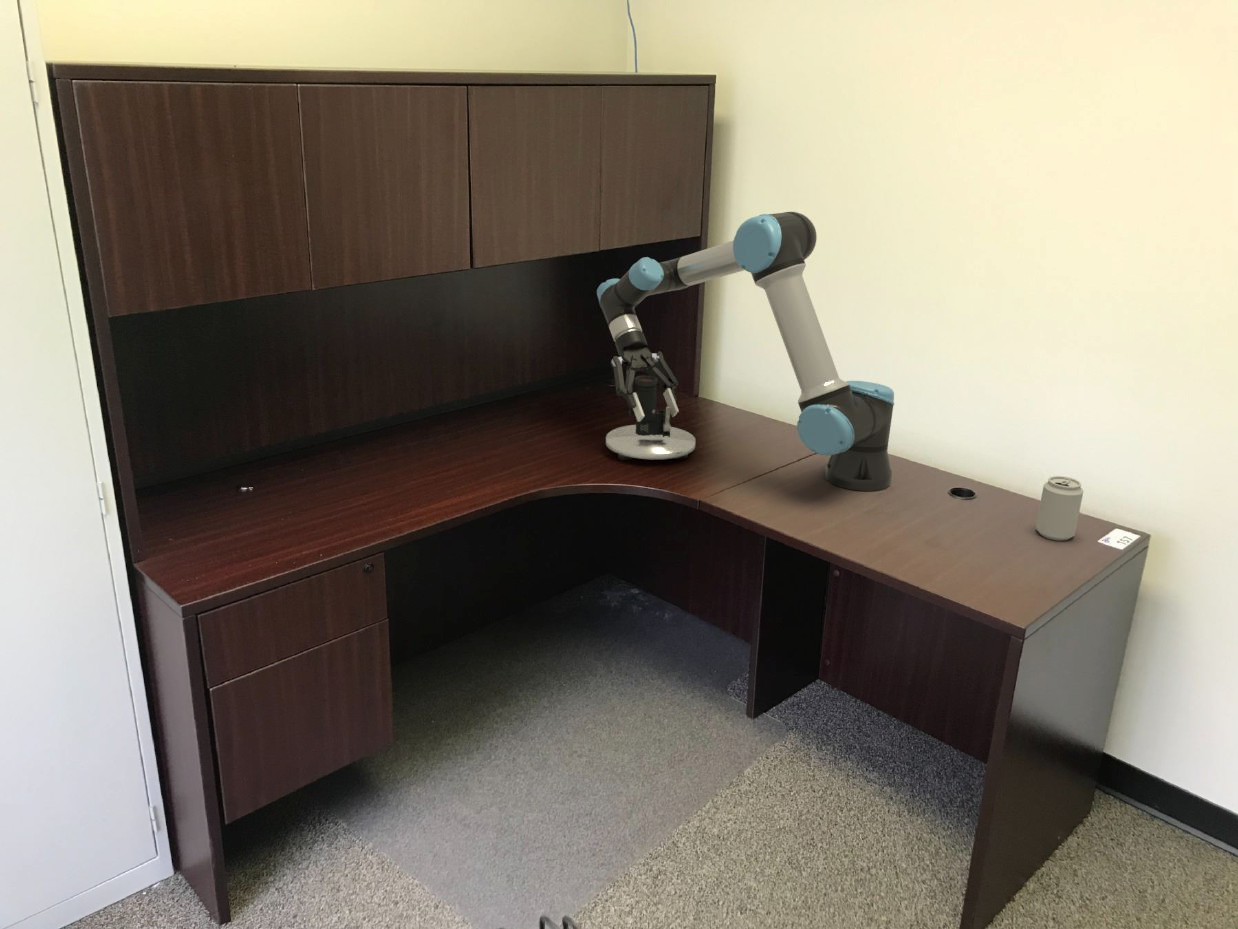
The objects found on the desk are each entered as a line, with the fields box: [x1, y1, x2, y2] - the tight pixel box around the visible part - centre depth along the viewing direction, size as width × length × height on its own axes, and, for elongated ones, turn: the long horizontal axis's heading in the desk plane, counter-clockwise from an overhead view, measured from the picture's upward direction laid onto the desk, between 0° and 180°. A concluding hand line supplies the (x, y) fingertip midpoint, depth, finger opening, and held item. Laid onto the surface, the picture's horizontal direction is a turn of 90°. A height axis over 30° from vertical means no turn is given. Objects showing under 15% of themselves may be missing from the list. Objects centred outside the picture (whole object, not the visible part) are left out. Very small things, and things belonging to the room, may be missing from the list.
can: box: [1035, 475, 1084, 541], centre depth 207 cm, size 8×8×12 cm
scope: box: [628, 374, 672, 437], centre depth 245 cm, size 8×14×10 cm
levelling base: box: [605, 424, 696, 461], centre depth 249 cm, size 22×22×4 cm
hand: (658, 416), depth 244 cm, fingers closed on scope, 9 cm apart
